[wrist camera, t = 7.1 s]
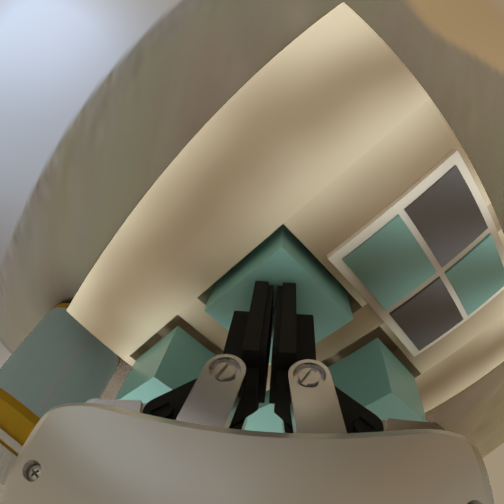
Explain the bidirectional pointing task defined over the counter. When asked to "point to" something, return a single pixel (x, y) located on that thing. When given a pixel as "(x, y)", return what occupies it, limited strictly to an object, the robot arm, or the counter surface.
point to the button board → (320, 215)
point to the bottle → (49, 378)
